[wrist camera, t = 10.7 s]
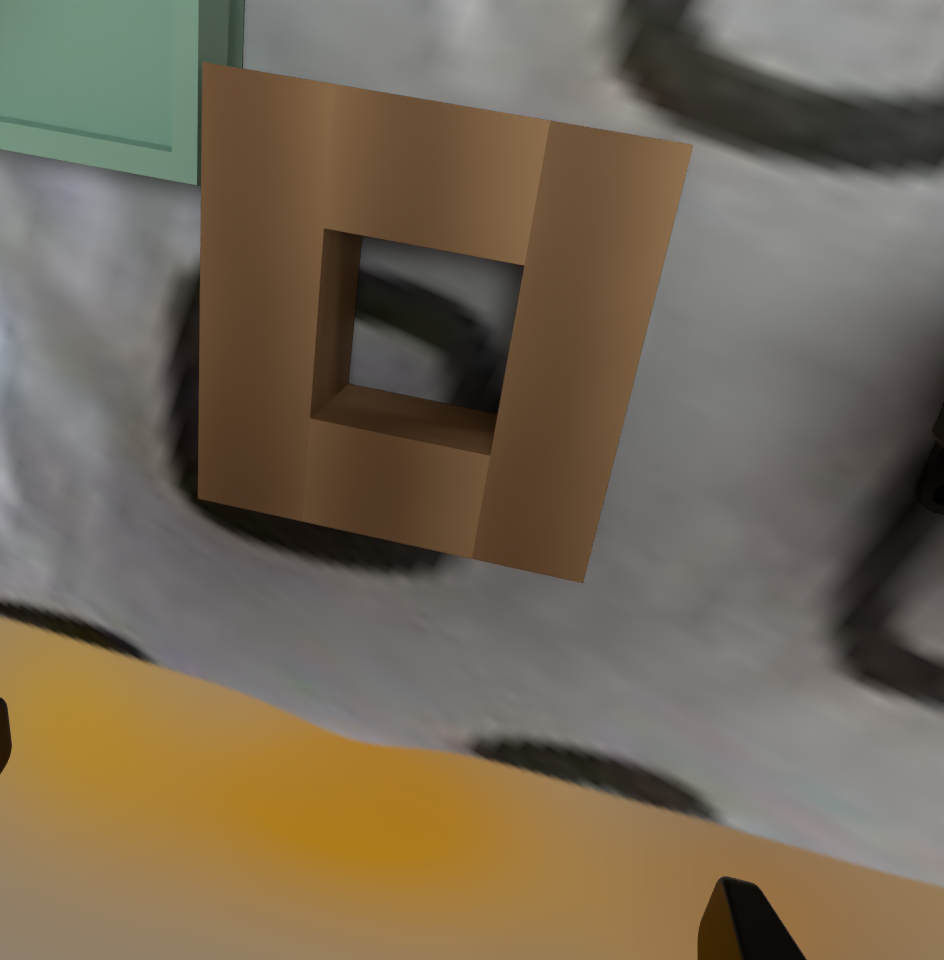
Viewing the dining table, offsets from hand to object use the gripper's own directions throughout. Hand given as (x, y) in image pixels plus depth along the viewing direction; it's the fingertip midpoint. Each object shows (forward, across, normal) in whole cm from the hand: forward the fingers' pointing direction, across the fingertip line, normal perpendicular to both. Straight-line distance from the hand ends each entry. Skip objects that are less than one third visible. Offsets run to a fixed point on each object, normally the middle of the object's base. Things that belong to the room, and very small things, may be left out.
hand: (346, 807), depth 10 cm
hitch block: (+13, +2, -3) cm, 13 cm away
